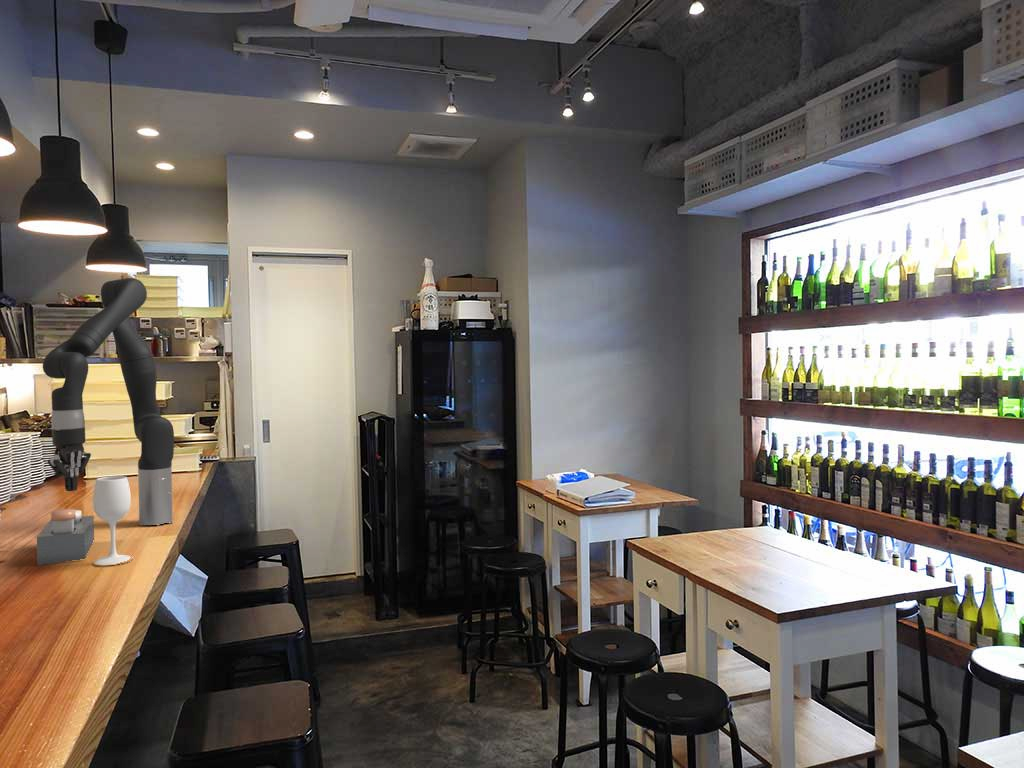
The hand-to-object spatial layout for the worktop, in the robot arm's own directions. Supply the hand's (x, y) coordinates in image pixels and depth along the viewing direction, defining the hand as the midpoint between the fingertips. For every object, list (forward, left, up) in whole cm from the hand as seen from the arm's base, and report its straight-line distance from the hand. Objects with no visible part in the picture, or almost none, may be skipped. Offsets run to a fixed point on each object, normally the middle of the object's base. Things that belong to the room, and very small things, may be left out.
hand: (71, 490), depth 189 cm
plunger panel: (0, +6, -15) cm, 16 cm away
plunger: (0, +12, -10) cm, 16 cm away
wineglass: (-11, +21, -16) cm, 28 cm away
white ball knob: (0, 0, -13) cm, 13 cm away
